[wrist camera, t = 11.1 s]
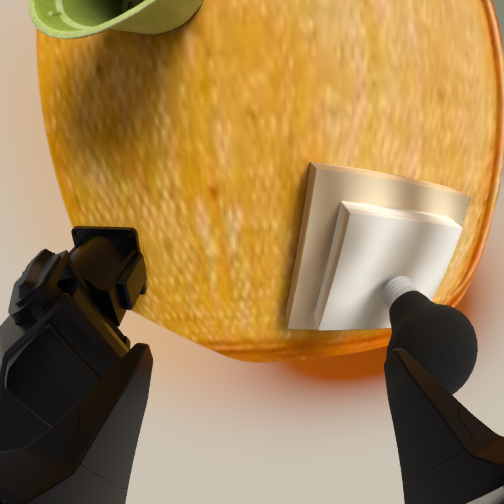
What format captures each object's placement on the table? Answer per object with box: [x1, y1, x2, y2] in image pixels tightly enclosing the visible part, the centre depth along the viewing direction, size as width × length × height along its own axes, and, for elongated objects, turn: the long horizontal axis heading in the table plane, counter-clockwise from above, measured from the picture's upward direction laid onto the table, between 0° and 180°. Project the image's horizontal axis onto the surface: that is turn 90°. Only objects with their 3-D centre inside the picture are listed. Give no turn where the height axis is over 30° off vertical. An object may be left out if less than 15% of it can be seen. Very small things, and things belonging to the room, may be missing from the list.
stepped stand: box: [285, 162, 471, 330], centre depth 20 cm, size 14×14×4 cm
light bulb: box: [382, 276, 478, 395], centre depth 14 cm, size 6×6×10 cm
